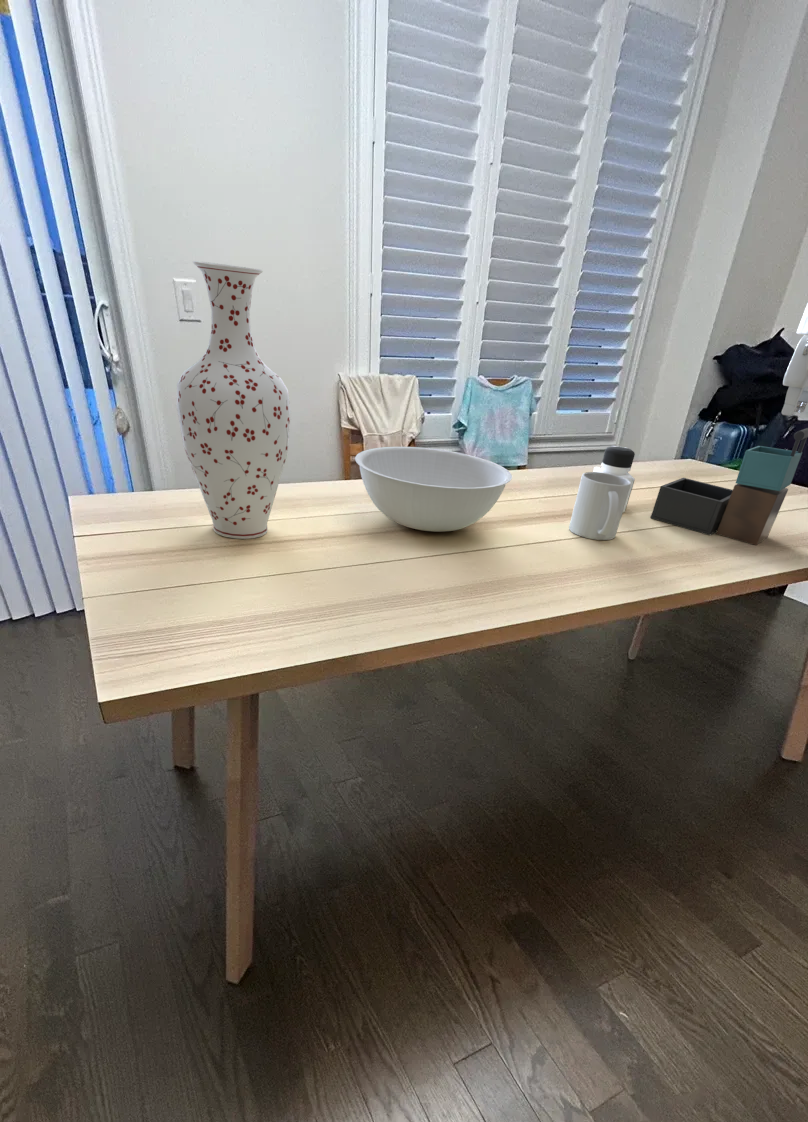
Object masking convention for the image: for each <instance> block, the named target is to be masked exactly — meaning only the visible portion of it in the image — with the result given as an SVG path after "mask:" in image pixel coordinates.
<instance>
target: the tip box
mask: <svg viewBox="0 0 808 1122" xmlns="http://www.w3.org/2000/svg"><path fill="white" fill-rule="evenodd" d="M793 439H794V440H795V442H794V443H793V447H792V450H790V449H783V448H777V447H769V446H763V445H757V446H754V447H751V448H749V449H746V450H745V452H744V455H743V458H742V462H741V465H740V467H739V471H738V474H737V477H736V479H735V484H742V485H748V486H753V487H759V488H764V489H770V490H776V491H781V490H782V489H784V488H788V487H789V486H791V484H792V482H793V479H794V476H795V474H796V471H797V468H798V465H799V463H800V460H801V457H802V454H803V450H804V447H805V444H806V442H807V439H808V427H806V428H803V429H801V430H798V431H796V432H795V433H794V434H793Z"/></svg>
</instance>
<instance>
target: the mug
mask: <svg viewBox="0 0 808 1122" xmlns="http://www.w3.org/2000/svg"><path fill="white" fill-rule="evenodd" d="M630 486H631V482H630V481H629V480H628V479H626V478H623V477H620V476H617V475H613V474H608V473H601V472H593V471H588V472H583V473H582V475H581V477H580V481H579V485H578V490H577V494H576V497H575V501H574V505H573V510H572V514H571V517H570V522H569V525H568V529H569V531H570V532H571V533H573V534H575V535H576V536H580V537H581V538H586V539H589V540H595V541H596V540H597V541H609V540H614V539H615V538H616V536H617V532H618V530H619V526H620V523H621V519H622V516H623V509H624V506H625V503H626V499H627V496H628V492H629V489H630Z"/></svg>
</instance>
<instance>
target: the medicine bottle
mask: <svg viewBox="0 0 808 1122" xmlns="http://www.w3.org/2000/svg"><path fill="white" fill-rule="evenodd" d="M635 457H636V452H635V451H634V450H632V449H631V448H628V447H625V446H619V445H610V446H608V447H606V448H605V449H604V453H603V458H602V461H601V464H600V466H595V467H593V470H592V472H601V473H608V474H613V475H617V476H620V477H623V478H626V479H628V480H629V481H630V482H631V486H630V489H629V492H628V496H627V499H626V503H625V506H624V509H623V513H626V511H627V507H628V503H629V500H630V498H631V494H632V490H633V487H634V484H635V477H633V475H632V474H630V472H631V469H632V466H633V462H634V460H635ZM623 513H622V514H623Z"/></svg>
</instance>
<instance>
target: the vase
mask: <svg viewBox="0 0 808 1122" xmlns="http://www.w3.org/2000/svg"><path fill="white" fill-rule="evenodd" d="M192 264H193V265H194V266H196V267H197V268H198V269H199V271H200V272H201V274H202V276H203V279H204V283H205V286H206V291H207V295H208V301H209V305H210V310H211V312H210V313H211V316H210V317H211V318H210V319H211V330H210V335H209V340H208V345H207V348H206V350H205V352H204V354H203V355H202V356H201V357H200V359H198V361H196V362H195V363H193V364H192V365H191V366H189V367H188V368H186V369H184V370H183V372H182V373H181V375H180V377H179V379H178V381H177V382H176V411H177V417H178V423H179V429H180V433H181V434H180V435H181V439H182V445H183V449H184V451H185V454H186V457H187V460H188V462H189V464H190V467H191V470H192V472H193V475H194V477H195V480H196V482H197V485H198V487H199V491H200V493H201V495H202V498H203V500H204V503H205V506H206V508H207V511H208V513H209V516H210V518H211V522H212V531H214V532H215V534H217V535H220V536H221V537H223V538H224V537H225V538H229V539H238V540H246V539H247V540H248V539H249V540H250V539H256V538H259V537H263V536H265V535H266V534H267V533H268V522H269V519H270V515H271V512H272V508H273V504H274V501H275V498H276V494H277V491H278V488H279V485H280V480H281V477H282V473H283V471H284V468H285V464H286V460H287V456H288V452H289V441H290V440H289V439H290V425H291V414H292V413H291V412H292V411H291V404H290V403H291V402H290V395H289V393H290V392H289V389H288V387H287V385H286V384H285V382H284V380H283V379H282V377H281V376H279V375H278V374H277V373H276V372H274V371H273V370H272V369H271V368H269V366H267V365H266V363H265V362H264V361H263V360H262V358H261V357H260V355H259V353H258V351H257V349H256V346H255V342H254V339H253V334H252V329H251V327H252V326H251V317H250V315H251V314H250V312H251V303H252V295H253V288H254V285H255V282H256V278H258V276H260V274H263V272H264V269H260V268H253V267H246V266H244V267H243V266H239V265H232V264H223V263H215V262H208V261H199V260H193V261H192Z"/></svg>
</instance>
